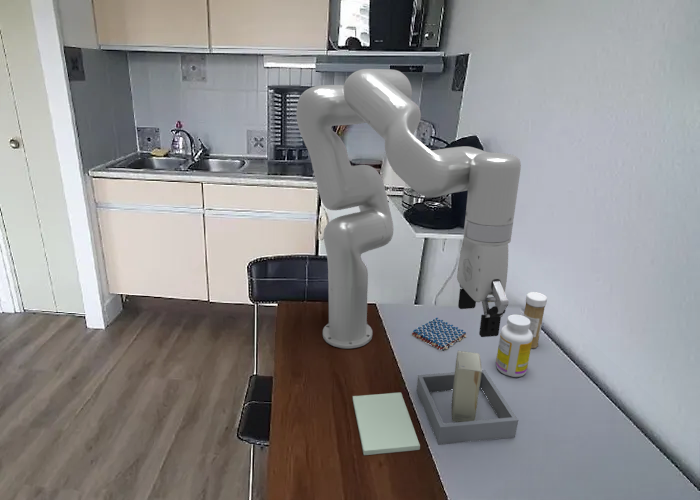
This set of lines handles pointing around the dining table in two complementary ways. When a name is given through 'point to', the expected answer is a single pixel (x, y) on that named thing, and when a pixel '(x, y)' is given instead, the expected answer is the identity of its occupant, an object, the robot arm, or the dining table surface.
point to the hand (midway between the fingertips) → (477, 321)
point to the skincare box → (466, 386)
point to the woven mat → (438, 333)
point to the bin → (469, 429)
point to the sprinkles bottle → (535, 314)
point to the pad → (384, 424)
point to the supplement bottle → (514, 346)
